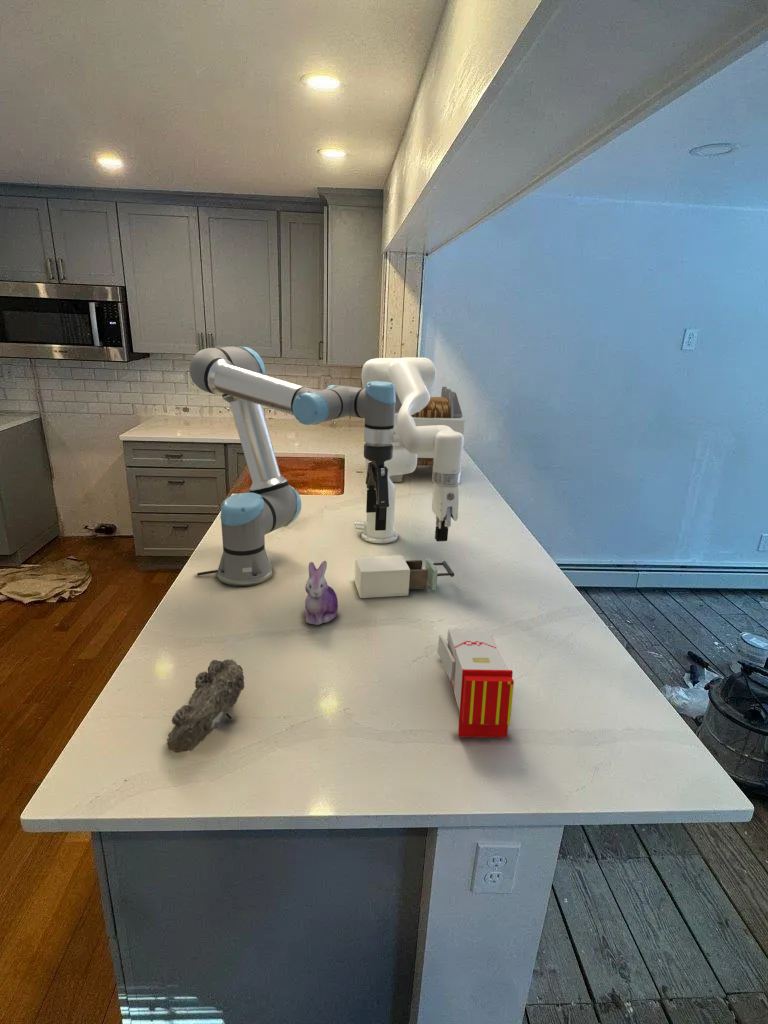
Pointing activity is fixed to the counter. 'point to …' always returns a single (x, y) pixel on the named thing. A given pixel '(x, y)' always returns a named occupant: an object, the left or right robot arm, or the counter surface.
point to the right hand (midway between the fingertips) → (441, 540)
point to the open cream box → (382, 576)
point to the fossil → (206, 705)
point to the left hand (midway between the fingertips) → (375, 520)
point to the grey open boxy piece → (434, 420)
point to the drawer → (426, 573)
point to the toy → (478, 682)
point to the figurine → (319, 597)
